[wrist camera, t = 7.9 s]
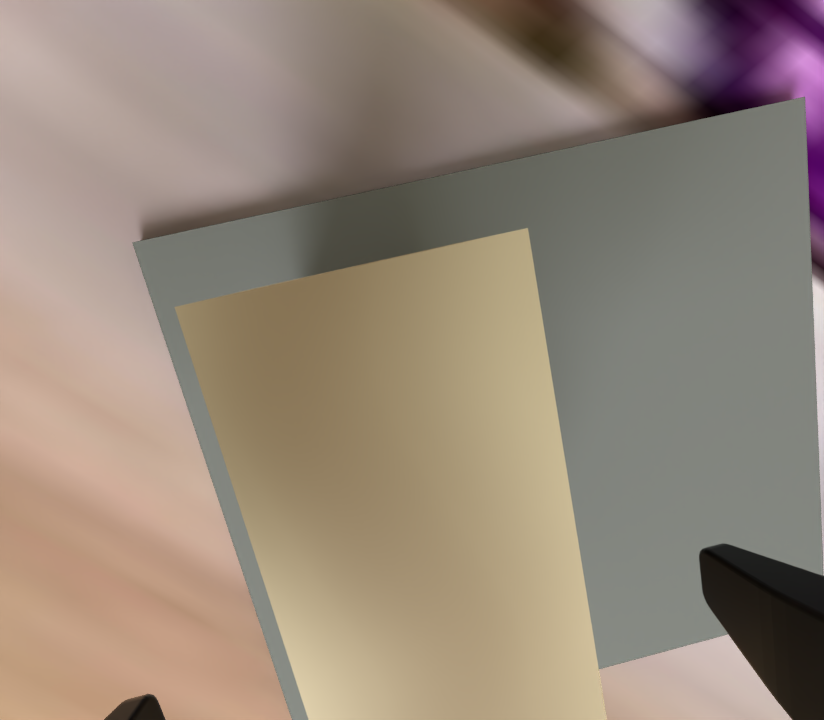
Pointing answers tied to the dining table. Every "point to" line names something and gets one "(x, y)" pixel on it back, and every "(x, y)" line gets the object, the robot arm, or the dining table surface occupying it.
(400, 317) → the maple plank
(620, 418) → the slate mat
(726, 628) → the robot arm
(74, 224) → the dining table surface
